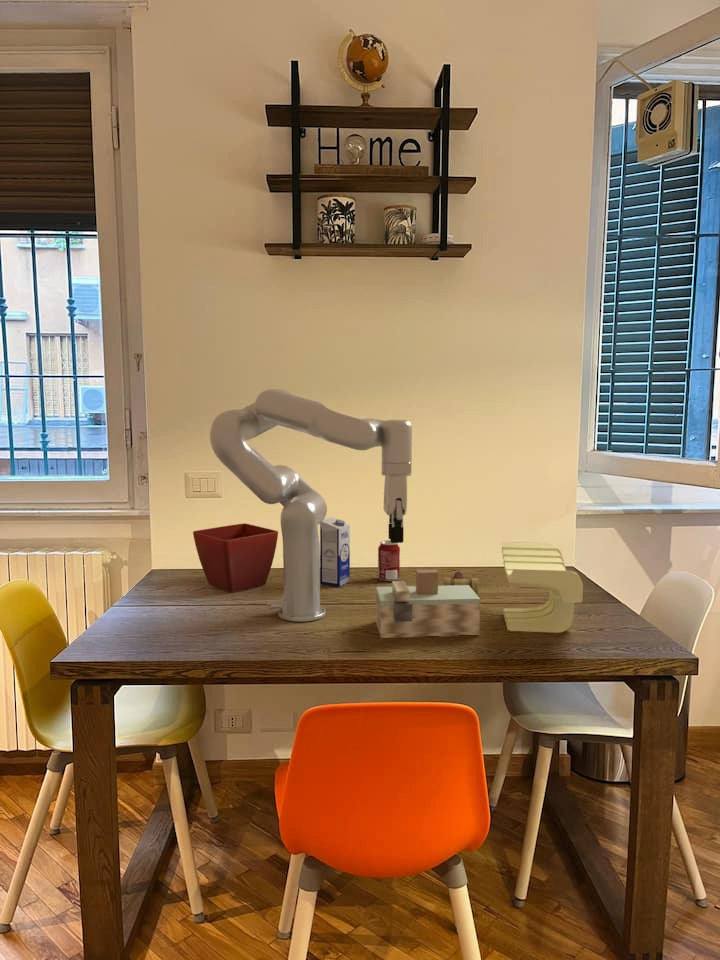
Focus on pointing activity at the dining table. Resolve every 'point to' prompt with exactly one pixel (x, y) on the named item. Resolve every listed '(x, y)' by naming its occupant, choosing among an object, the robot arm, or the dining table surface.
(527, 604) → the dining table surface
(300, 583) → the robot arm
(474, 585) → the gavel
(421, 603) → the lid
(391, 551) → the soda can
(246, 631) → the dining table surface
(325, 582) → the milk carton
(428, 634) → the toolbox
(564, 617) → the slatted curved stool
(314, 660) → the dining table surface
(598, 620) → the dining table surface
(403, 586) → the bar
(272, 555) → the plant pot
